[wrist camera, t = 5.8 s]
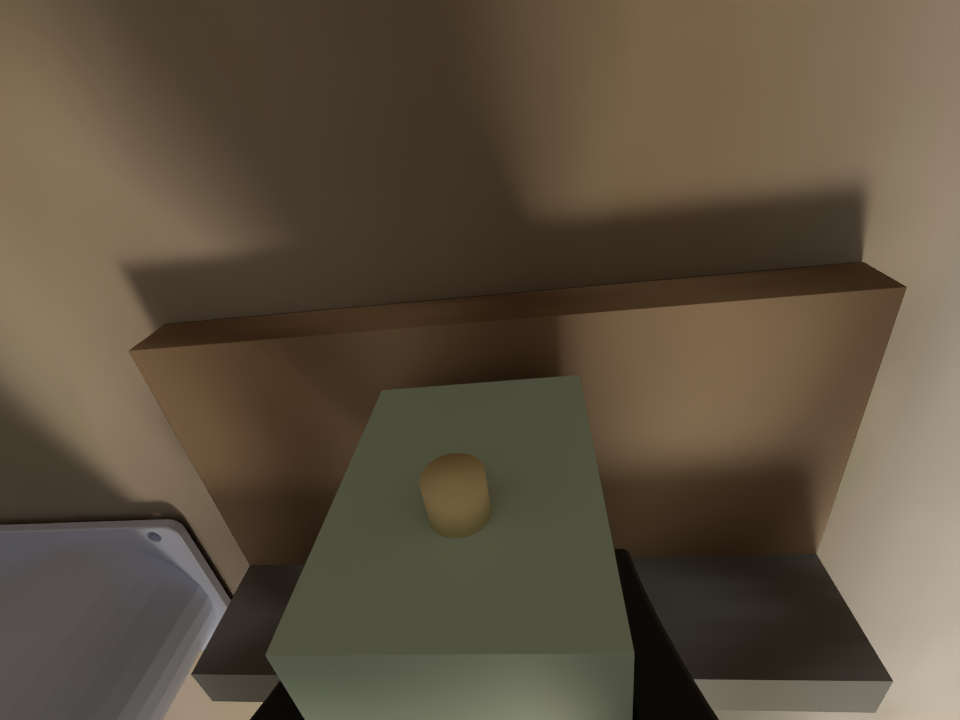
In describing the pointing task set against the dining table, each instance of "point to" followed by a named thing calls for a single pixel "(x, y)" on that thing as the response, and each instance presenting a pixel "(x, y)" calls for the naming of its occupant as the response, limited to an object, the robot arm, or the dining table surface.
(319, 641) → the mini cabinet
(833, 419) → the cleat wall
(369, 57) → the dining table surface
